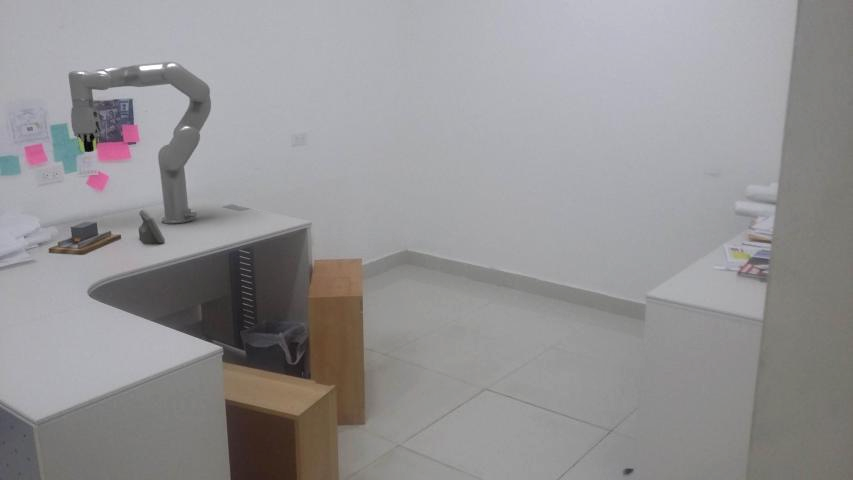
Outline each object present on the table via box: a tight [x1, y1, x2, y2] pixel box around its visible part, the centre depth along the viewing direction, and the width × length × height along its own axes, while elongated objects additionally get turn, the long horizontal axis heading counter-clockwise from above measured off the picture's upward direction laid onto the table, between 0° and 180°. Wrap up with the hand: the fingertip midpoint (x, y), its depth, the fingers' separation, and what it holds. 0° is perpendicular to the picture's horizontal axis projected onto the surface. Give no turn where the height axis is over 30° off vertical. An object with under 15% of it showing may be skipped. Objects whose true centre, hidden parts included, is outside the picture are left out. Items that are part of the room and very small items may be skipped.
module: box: [70, 221, 99, 243], centre depth 269 cm, size 5×9×6 cm, turn 168°
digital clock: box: [138, 209, 166, 245], centre depth 276 cm, size 16×9×11 cm, turn 20°
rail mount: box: [48, 230, 122, 256], centre depth 270 cm, size 14×22×3 cm, turn 168°
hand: (89, 151), depth 286 cm, fingers closed
